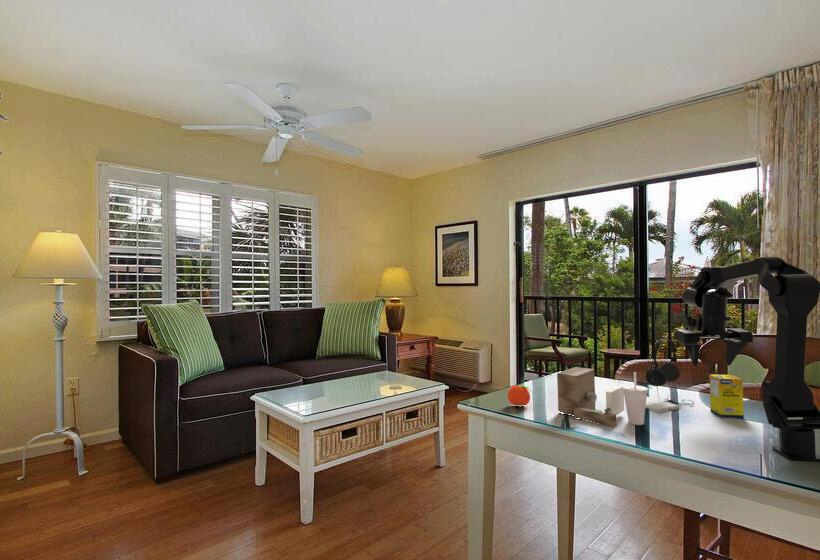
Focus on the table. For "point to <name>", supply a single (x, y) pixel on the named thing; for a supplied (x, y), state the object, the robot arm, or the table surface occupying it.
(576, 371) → the brown blocky piece
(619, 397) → the cream flat box
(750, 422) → the table surface
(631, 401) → the smoothie
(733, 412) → the supplement box
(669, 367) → the headphones
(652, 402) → the external hard drive
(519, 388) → the clementine
